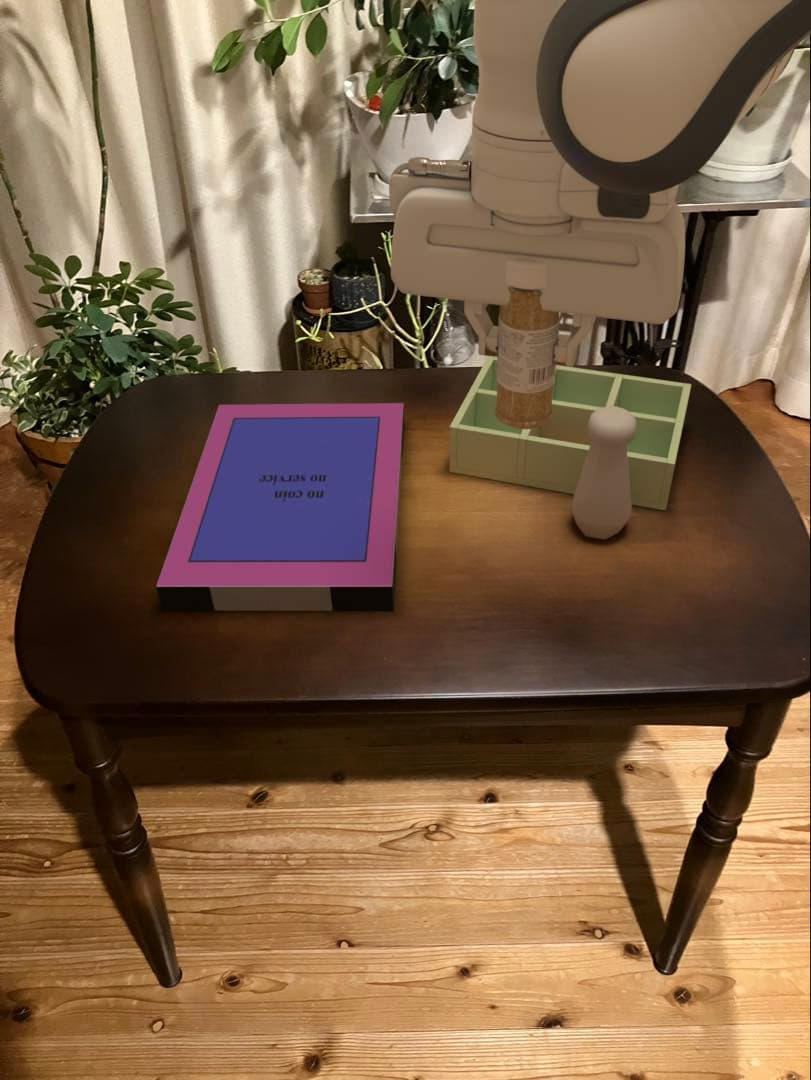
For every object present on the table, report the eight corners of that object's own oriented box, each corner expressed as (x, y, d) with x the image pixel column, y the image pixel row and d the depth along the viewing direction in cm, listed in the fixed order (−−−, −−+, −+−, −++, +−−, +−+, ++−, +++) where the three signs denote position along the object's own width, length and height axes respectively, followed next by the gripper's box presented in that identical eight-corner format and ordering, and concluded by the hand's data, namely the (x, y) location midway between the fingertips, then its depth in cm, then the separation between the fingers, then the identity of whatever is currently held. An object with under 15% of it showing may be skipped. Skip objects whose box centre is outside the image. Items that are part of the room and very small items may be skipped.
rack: (682, 428, 102) (691, 383, 99) (665, 510, 92) (674, 464, 88) (487, 398, 109) (488, 355, 105) (449, 472, 98) (449, 426, 94)
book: (403, 403, 103) (392, 586, 80) (404, 425, 105) (393, 610, 82) (219, 404, 104) (156, 586, 81) (223, 426, 106) (163, 610, 83)
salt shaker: (626, 509, 92) (644, 398, 83) (631, 546, 88) (650, 433, 79) (567, 506, 92) (579, 396, 84) (569, 543, 88) (582, 431, 80)
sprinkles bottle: (539, 396, 73) (551, 232, 64) (561, 426, 70) (577, 257, 61) (485, 406, 72) (490, 241, 64) (505, 436, 69) (512, 267, 60)
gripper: (371, 170, 59) (381, 359, 68) (696, 197, 54) (660, 398, 63) (402, 140, 64) (408, 321, 73) (705, 162, 58) (670, 355, 67)
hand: (527, 357), depth 68 cm, fingers closed on sprinkles bottle, 4 cm apart
